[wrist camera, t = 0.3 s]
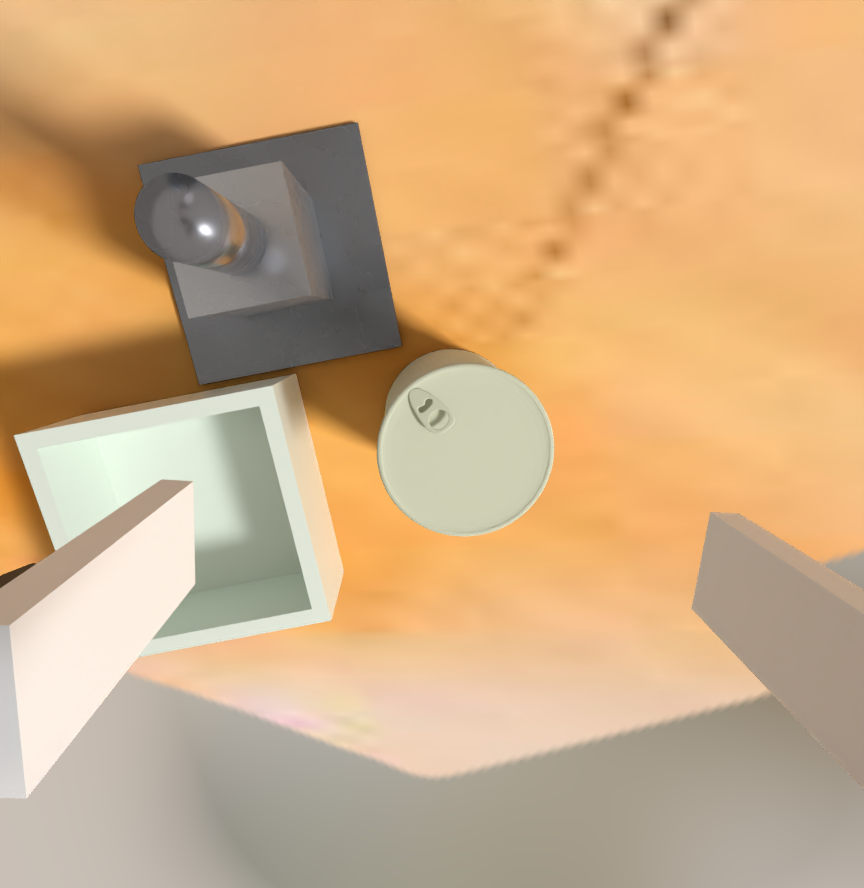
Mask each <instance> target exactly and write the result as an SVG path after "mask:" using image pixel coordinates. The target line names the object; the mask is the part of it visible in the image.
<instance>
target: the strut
mask: <svg viewBox="0 0 864 888" xmlns="http://www.w3.org/2000/svg"><path fill="white" fill-rule="evenodd" d="M134 216H135V223H136V227H137V230H138V233H139V235H140V237H141V238H142V240H143V241H144V243H145V244H146V245H147V246H148V248H149V249H151V250H152V251H153V252H154V253H155V254H157V255H158V256H160V257H162V258H164V259H166V260H169V261H173V265H174V268H175V272H176V276H177V279H178V283H179V286H180V290H181V294H182V297H183V301H184V304H185V308H186V312H187V315H188V319H201V318H243V317H248V316H253V315H258V314H263V313H268V312H274V311H279V310H284V309H289V308H294V307H300V306H305V305H310V304H315V303H320V302H325V301H331V300H334V296H333V291H332V287H331V282H330V278H329V273H328V269H327V264H326V260H325V255H324V250H323V246H322V241H321V237H320V232H319V228H318V223H317V219H316V214H315V209H314V205H313V200H312V198H311V196H310V195H309V194H308V193H307V192H306V190H305V189H304V188H303V187H302V186H301V184H300V183H299V182H298V181H297V180H296V178H295V177H294V176H293V175H292V174H291V172H290V171H289V170H288V169H287V168H286V166H285V165H284V164H283V163H282V162H281V161H278V162H273V163H267V164H262V165H257V166H252V167H247V168H242V169H237V170H231V171H226V172H221V173H216V174H211V175H206V176H201V177H195V178H193V177H191V176H189V175H186V174H182V173H165V174H161V175H158V176H156V177H154V178H153V179H151V180H150V181H148V182H147V183H146V184H145V185H144V186H143V188H142V189H141V191H140V192H139V194H138V197H137V199H136V203H135V209H134Z"/></svg>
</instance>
